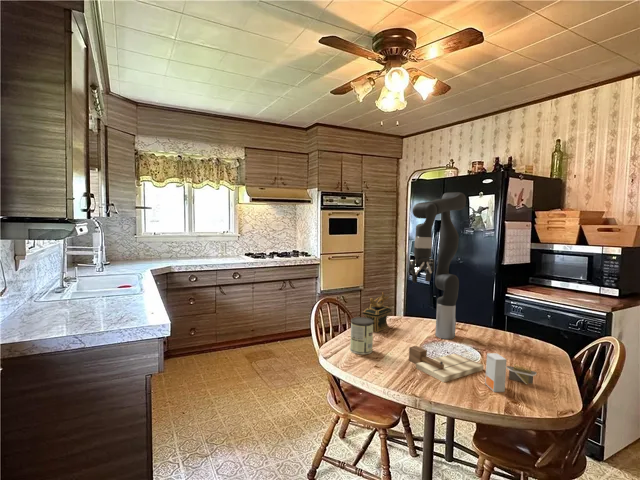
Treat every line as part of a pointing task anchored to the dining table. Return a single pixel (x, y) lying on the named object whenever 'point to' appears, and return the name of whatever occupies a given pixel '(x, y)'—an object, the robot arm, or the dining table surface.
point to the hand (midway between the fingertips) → (421, 282)
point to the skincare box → (495, 372)
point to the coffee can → (361, 335)
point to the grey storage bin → (521, 374)
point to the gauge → (422, 357)
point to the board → (450, 367)
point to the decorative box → (378, 313)
